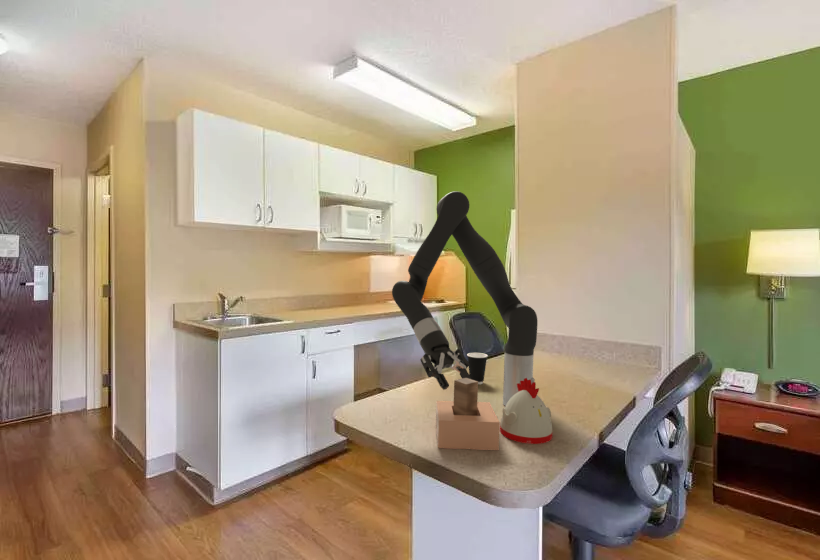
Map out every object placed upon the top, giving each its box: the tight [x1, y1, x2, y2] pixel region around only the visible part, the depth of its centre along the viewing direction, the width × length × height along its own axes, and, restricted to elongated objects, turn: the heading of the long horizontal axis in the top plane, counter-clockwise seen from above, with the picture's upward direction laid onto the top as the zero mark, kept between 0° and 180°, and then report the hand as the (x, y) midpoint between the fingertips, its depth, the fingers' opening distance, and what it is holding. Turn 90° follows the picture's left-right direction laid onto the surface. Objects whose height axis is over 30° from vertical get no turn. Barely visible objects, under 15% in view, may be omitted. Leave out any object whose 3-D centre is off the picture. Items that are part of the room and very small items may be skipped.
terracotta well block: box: [435, 400, 501, 451], centre depth 111 cm, size 15×15×7 cm
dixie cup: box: [466, 352, 489, 386], centre depth 162 cm, size 8×8×11 cm
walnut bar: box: [453, 377, 479, 416], centre depth 110 cm, size 4×4×14 cm
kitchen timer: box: [499, 378, 553, 445], centre depth 114 cm, size 14×14×15 cm
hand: (458, 385), depth 113 cm, fingers open, 8 cm apart
